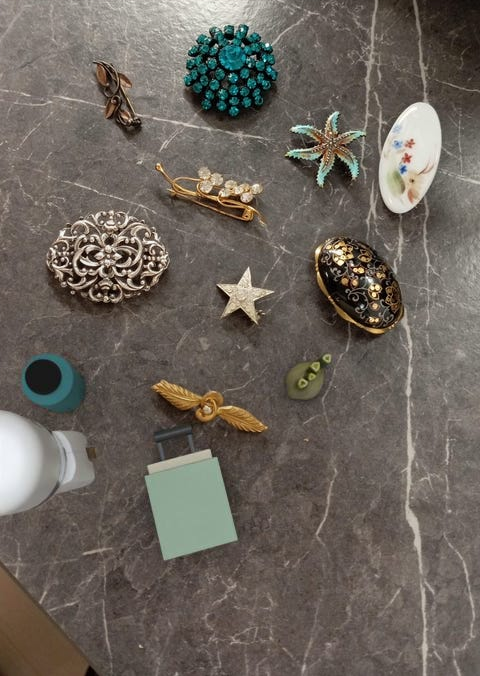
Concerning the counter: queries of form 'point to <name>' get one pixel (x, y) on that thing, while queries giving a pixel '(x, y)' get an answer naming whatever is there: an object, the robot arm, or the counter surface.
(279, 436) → the counter surface
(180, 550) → the green drawer cabinet
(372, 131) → the counter surface
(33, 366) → the beverage bottle
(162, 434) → the drawer
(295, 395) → the fennel bulb
